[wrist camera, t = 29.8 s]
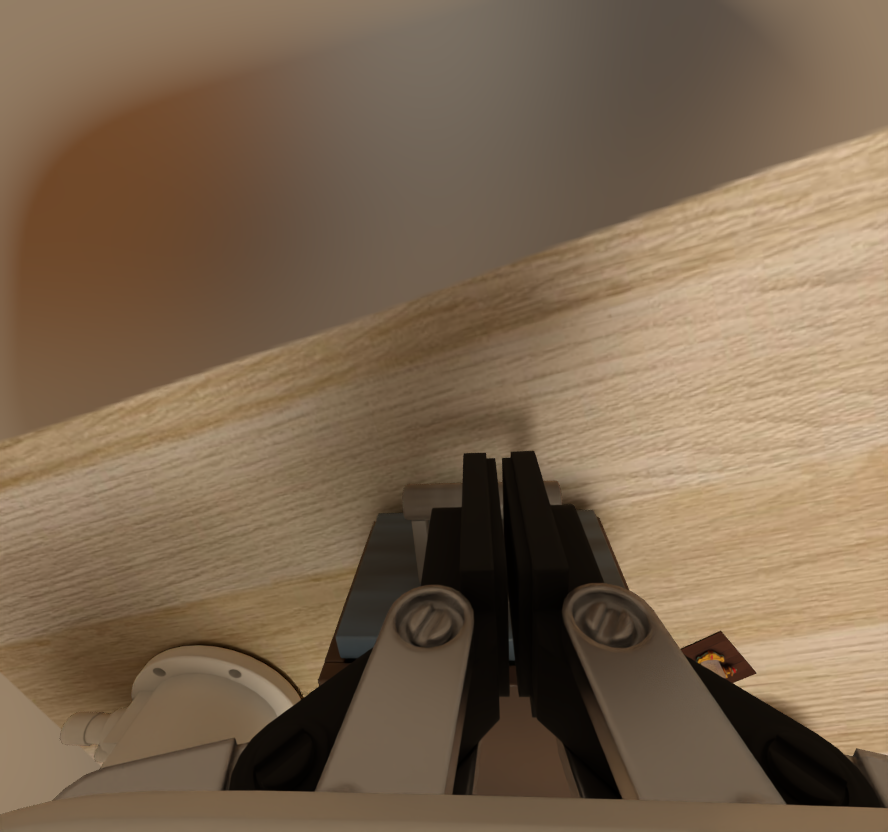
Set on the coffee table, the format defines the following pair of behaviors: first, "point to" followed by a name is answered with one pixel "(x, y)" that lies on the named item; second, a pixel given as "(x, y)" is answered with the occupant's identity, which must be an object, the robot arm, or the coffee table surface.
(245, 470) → the coffee table surface
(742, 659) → the diorama
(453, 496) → the drawer
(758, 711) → the robot arm
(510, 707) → the cabinet
